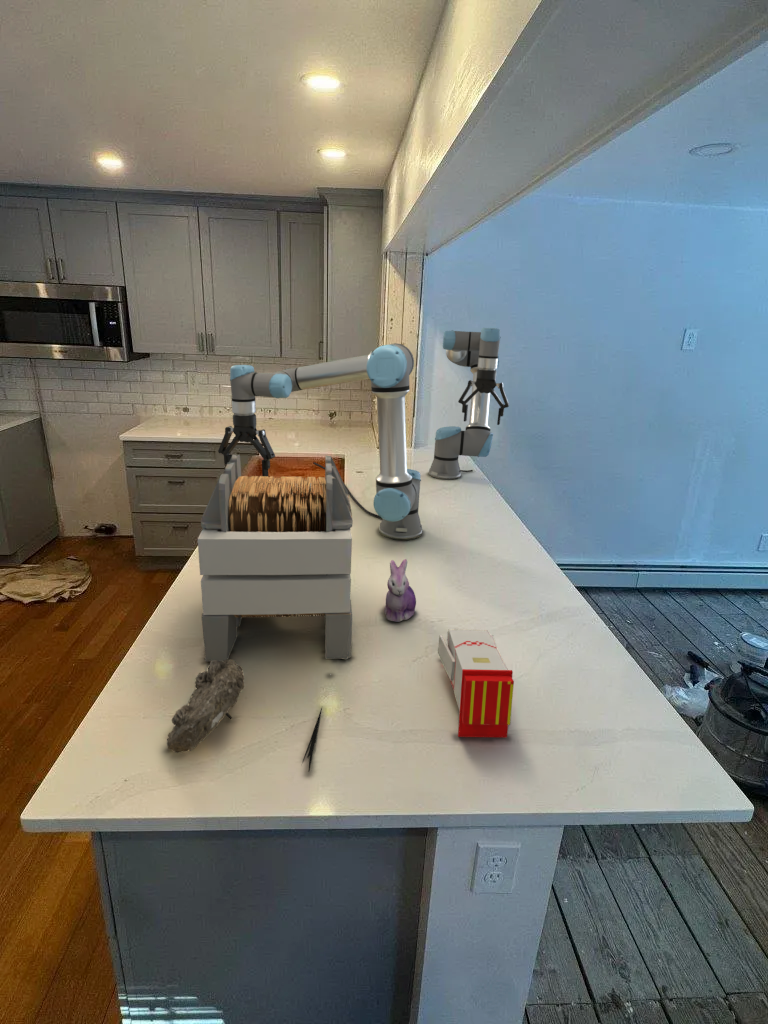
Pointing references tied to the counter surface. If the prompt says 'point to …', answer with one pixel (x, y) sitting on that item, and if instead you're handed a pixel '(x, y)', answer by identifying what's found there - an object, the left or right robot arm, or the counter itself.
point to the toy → (478, 682)
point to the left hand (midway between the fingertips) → (247, 476)
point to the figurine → (399, 594)
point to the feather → (313, 740)
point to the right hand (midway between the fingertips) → (481, 422)
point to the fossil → (206, 705)
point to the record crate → (276, 555)
